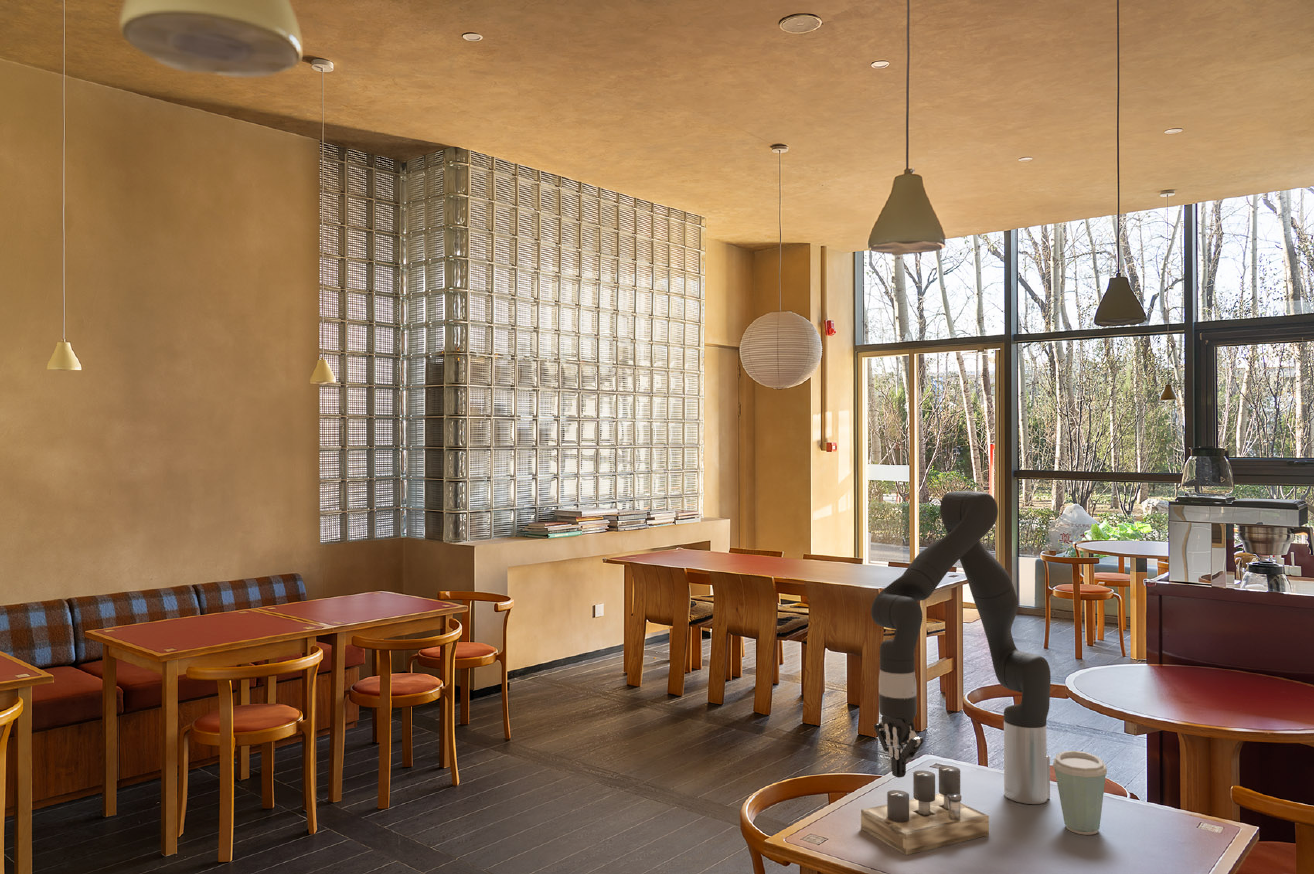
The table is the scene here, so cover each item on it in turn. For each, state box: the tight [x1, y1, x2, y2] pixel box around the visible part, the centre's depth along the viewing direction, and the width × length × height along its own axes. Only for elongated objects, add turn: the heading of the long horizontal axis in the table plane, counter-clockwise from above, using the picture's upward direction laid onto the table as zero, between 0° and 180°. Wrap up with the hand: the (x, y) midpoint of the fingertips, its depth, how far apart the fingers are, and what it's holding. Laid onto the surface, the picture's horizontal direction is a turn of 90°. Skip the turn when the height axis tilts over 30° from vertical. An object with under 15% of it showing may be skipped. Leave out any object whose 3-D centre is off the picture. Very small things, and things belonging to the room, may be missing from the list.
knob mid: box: [912, 770, 936, 815], centre depth 189 cm, size 4×4×8 cm
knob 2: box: [938, 765, 961, 809], centre depth 192 cm, size 4×4×8 cm
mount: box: [860, 793, 990, 856], centre depth 189 cm, size 22×14×4 cm, turn 116°
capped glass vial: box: [947, 793, 962, 821], centre depth 186 cm, size 3×3×5 cm
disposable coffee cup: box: [1052, 750, 1108, 836], centre depth 191 cm, size 11×11×15 cm
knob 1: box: [886, 789, 910, 823], centre depth 186 cm, size 4×4×8 cm
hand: (898, 775), depth 186 cm, fingers closed
